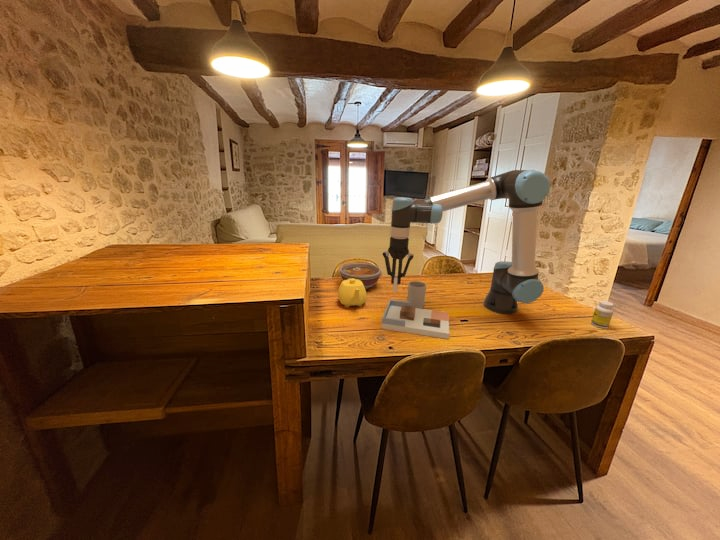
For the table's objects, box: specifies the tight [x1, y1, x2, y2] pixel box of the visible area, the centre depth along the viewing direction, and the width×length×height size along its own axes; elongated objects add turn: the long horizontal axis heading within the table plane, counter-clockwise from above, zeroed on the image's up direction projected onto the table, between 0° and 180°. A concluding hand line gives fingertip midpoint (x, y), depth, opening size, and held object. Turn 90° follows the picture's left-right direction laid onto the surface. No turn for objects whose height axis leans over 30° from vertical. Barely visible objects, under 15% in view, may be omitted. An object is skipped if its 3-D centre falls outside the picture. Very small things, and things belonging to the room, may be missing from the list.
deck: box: [381, 299, 450, 340], centre depth 129 cm, size 27×19×5 cm
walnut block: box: [400, 305, 416, 321], centre depth 130 cm, size 6×6×4 cm
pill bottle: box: [590, 300, 615, 329], centre depth 131 cm, size 6×6×11 cm
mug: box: [406, 280, 427, 309], centre depth 147 cm, size 12×8×11 cm
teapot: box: [337, 278, 368, 309], centre depth 144 cm, size 14×20×13 cm
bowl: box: [339, 262, 382, 290], centre depth 168 cm, size 23×23×10 cm
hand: (395, 290), depth 128 cm, fingers closed
